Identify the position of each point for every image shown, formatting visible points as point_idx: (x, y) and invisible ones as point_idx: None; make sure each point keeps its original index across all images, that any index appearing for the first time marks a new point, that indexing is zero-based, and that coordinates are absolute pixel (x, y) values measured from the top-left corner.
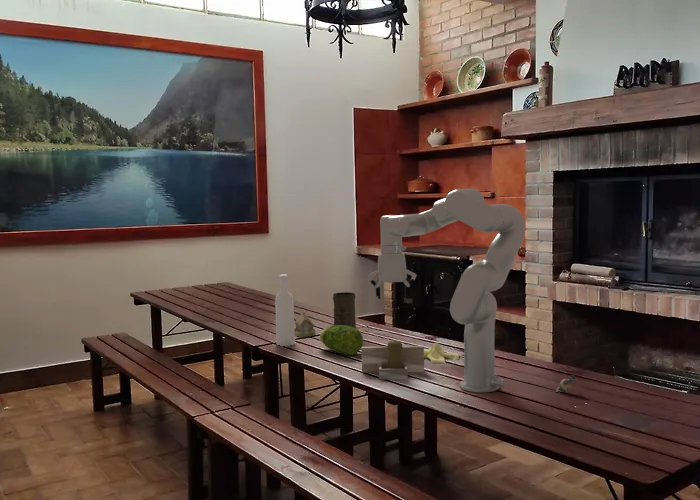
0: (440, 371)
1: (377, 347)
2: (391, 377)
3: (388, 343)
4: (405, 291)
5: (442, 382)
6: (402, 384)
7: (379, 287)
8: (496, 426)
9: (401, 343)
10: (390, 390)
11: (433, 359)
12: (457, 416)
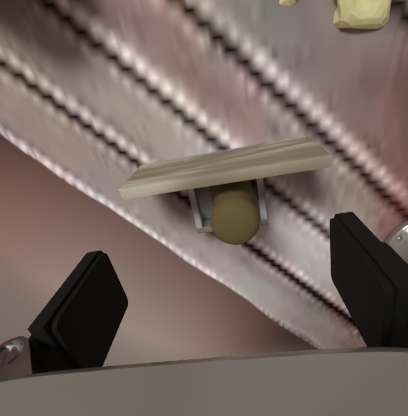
0: (353, 131)
1: (172, 191)
2: None
3: (214, 233)
4: (358, 326)
5: None
6: (255, 246)
7: (65, 351)
8: None
9: (257, 224)
10: (235, 280)
11: (349, 17)
12: None
